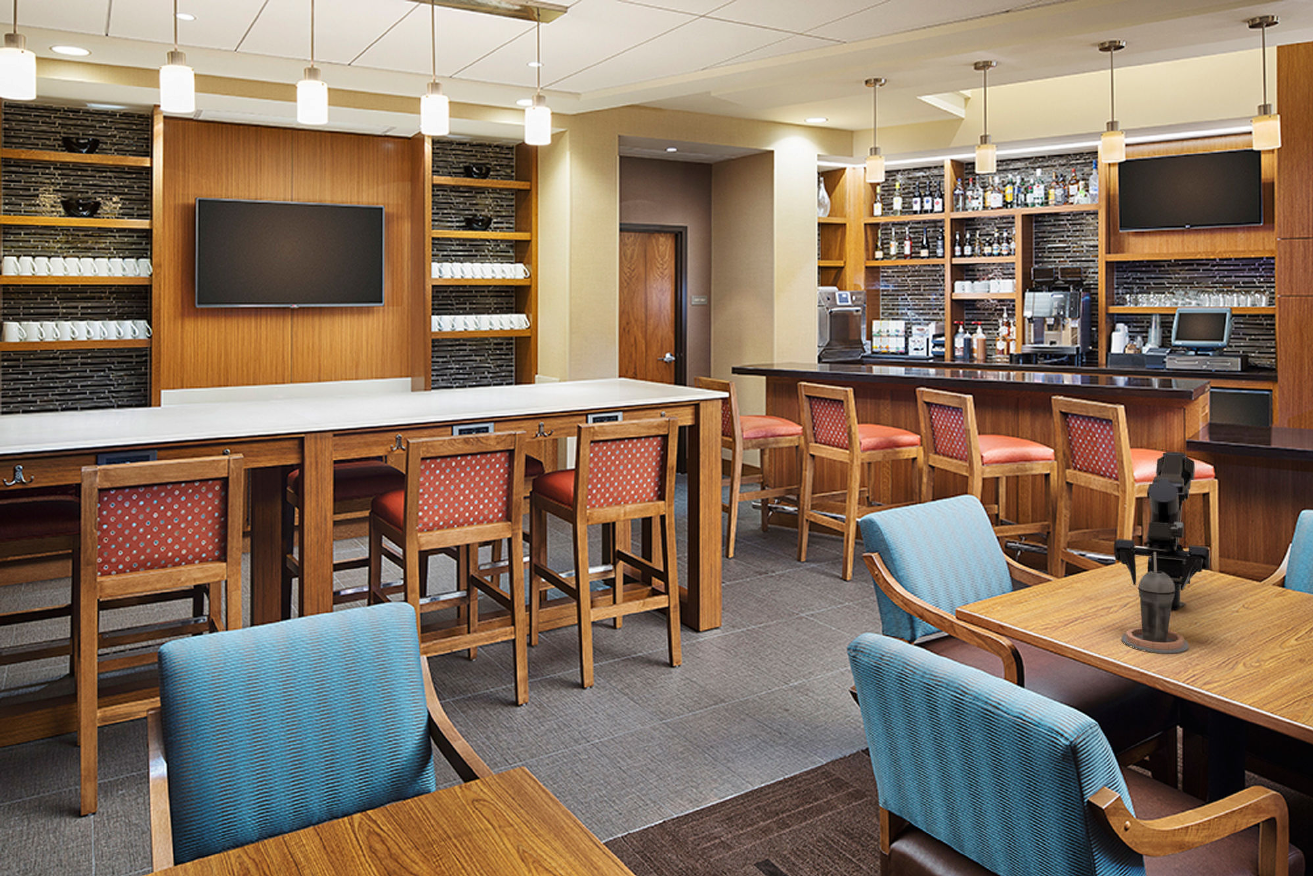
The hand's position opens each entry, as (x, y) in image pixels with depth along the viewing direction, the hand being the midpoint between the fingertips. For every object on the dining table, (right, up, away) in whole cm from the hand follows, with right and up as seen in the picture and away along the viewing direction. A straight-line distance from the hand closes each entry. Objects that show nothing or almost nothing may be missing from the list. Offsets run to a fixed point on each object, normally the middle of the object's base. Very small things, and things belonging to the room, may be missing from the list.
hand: (1157, 586), depth 208 cm
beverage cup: (-1, -12, -1) cm, 12 cm away
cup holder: (-1, -12, -1) cm, 12 cm away
